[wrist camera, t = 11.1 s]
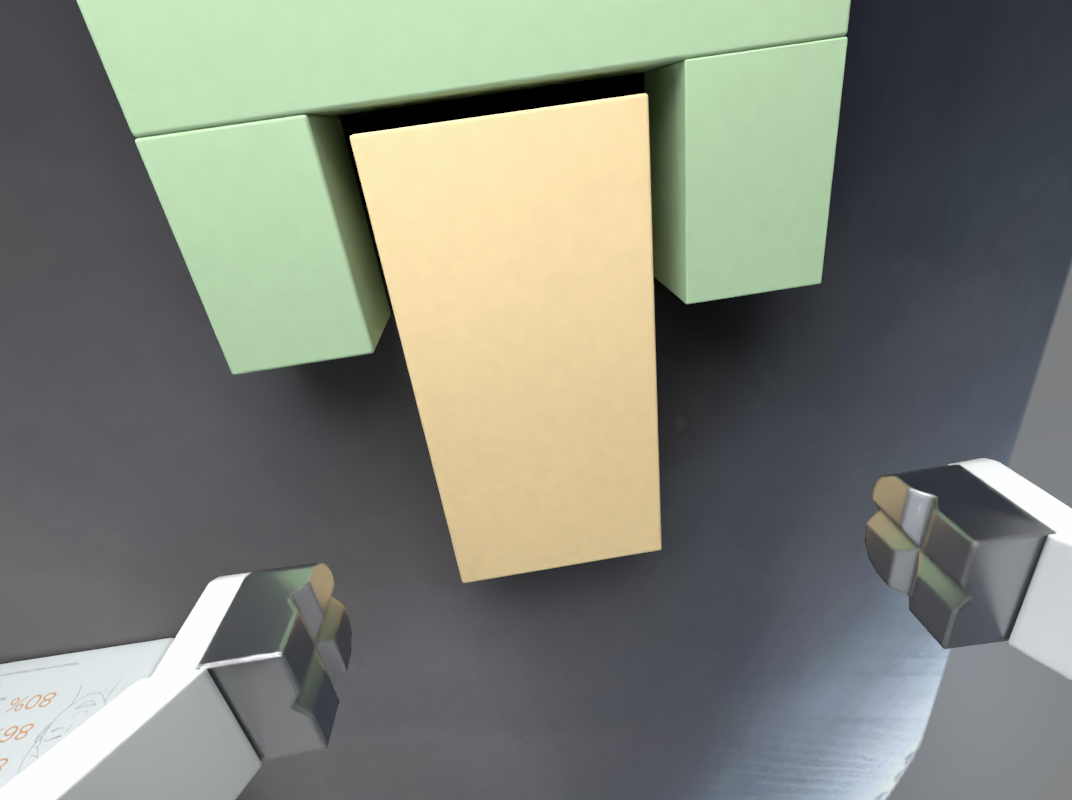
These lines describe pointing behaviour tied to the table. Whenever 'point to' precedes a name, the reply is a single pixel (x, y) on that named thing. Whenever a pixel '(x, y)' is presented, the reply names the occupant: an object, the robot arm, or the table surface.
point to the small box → (63, 696)
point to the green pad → (446, 74)
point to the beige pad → (527, 325)
